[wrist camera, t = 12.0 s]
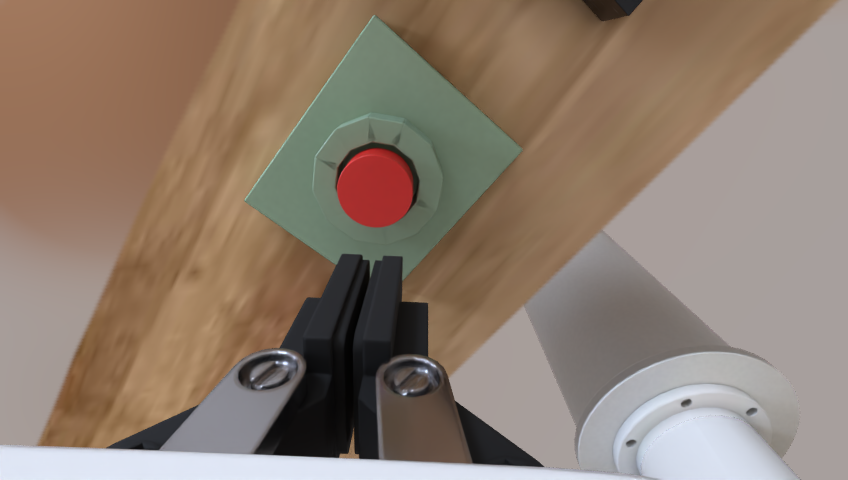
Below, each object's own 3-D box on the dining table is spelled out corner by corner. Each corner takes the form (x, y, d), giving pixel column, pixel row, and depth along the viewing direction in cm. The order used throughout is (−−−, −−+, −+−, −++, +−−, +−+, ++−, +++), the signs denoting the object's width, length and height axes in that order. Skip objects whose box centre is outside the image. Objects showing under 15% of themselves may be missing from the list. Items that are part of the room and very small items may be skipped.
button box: (387, 286, 27) (383, 316, 24) (254, 192, 25) (229, 211, 22) (516, 144, 24) (532, 156, 21) (377, 17, 21) (370, 9, 18)
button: (384, 229, 23) (381, 241, 21) (329, 187, 22) (321, 197, 20) (427, 178, 21) (428, 188, 20) (371, 132, 21) (367, 138, 19)
